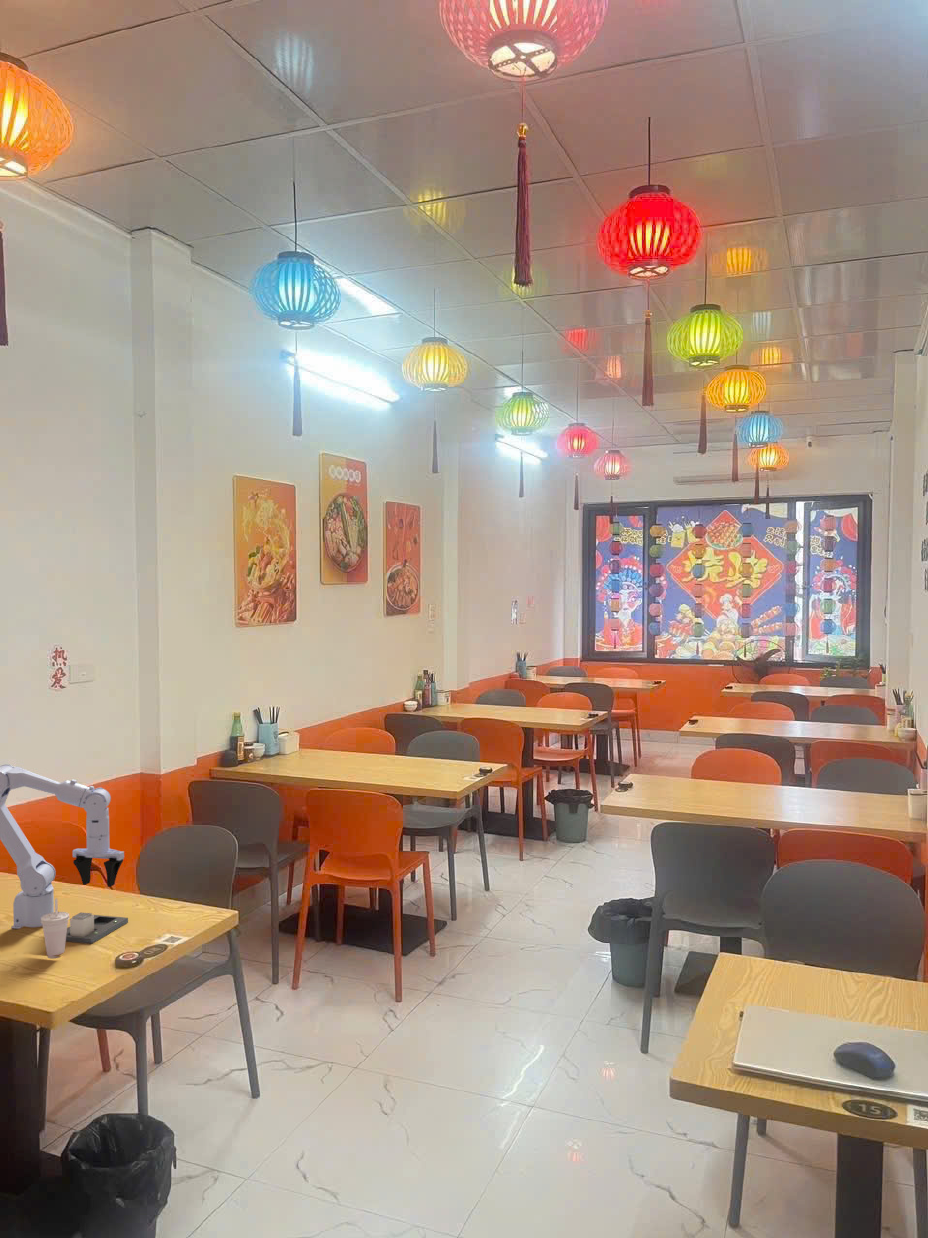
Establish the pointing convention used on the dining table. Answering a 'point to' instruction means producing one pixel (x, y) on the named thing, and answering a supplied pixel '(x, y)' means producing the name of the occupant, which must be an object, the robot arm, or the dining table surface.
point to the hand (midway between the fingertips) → (98, 884)
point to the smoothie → (55, 931)
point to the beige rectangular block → (82, 924)
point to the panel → (98, 929)
